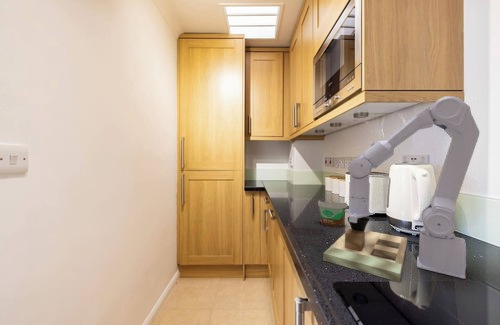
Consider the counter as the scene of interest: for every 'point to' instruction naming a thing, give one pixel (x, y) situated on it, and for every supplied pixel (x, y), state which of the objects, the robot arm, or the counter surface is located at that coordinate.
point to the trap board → (371, 255)
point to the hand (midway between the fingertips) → (357, 240)
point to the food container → (332, 213)
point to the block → (354, 239)
